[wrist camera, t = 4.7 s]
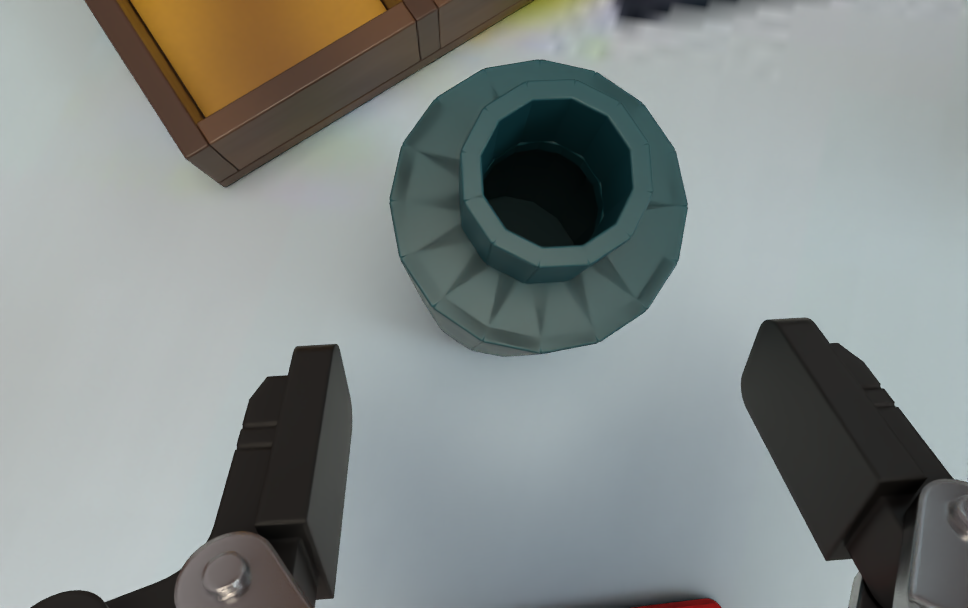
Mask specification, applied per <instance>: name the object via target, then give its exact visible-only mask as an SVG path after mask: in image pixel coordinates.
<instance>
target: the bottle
mask: <svg viewBox="0 0 968 608" xmlns="http://www.w3.org/2000/svg"><path fill="white" fill-rule="evenodd" d="M687 205H688V204H687V199H686V195H685V190H684V186H683V181H682V177H681V172H680V168H679V163H678V159H677V154H676V151H675V149H674V147H673V146H672V144H671V143H670V141H669V140H668V138H667V137H666V136H665V134H664V133H663V131H662V130H661V128H660V127H659V125H658V124H657V122H656V121H655V120H654V118H653V117H652V115H651V114H650V112H649V111H648V109H647V108H646V106H645V105H644V104H642V102H641V101H639V100H638V99H636V98H635V97H633V96H632V95H630V94H629V93H627V92H626V91H624V90H623V89H621V88H620V87H618V86H617V85H615V84H614V83H612V82H611V81H609V80H608V79H606V78H605V77H603V76H602V75H600V74H599V73H597V72H596V73H595V71H592V70H587V69H583V68H578V67H574V66H569V65H565V64H560V63H555V62H551V61H546V60H532V61H526V62H520V63H514V64H507V65H501V66H495V67H489V68H485V69H482V70H480V71H479V72H477V73H475V74H474V75H472V76H471V77H469V78H467V79H466V80H464V81H462V82H461V83H459V84H457V85H456V86H454V87H453V88H451V89H449V90H448V91H446V92H444V93H443V94H441V95H440V96H438V97H437V98H436V99H435V100H433V102H432V103H431V105H430V106H429V107H428V109H427V110H426V112H425V113H424V114H423V116H422V117H421V118H420V120H419V121H418V123H417V124H416V125H415V127H414V128H413V130H412V131H411V132H410V134H409V135H408V137H407V138H406V139H405V141H404V142H403V145H402V146H401V150H400V154H399V159H398V163H397V167H396V172H395V176H394V181H393V185H392V190H391V194H390V209H391V214H392V220H393V225H394V231H395V236H396V242H397V247H398V253H399V257H400V259H401V262H402V264H403V265H404V267H405V269H406V271H407V273H408V275H409V276H410V278H411V280H412V282H413V284H414V286H415V287H416V289H417V291H418V293H419V295H420V297H421V298H422V300H423V302H424V304H425V305H426V307H427V308H428V310H429V311H430V313H431V314H432V316H433V318H434V319H435V321H436V322H437V324H438V325H439V327H440V328H441V330H443V332H445V333H446V334H448V335H449V336H451V337H452V338H453V339H455V340H456V341H457V342H459V343H461V344H462V345H464V346H465V347H467V348H468V349H471V350H473V351H478V352H483V353H486V354H492V355H497V356H502V357H504V356H505V357H506V356H520V355H534V354H545V353H550V352H555V351H560V350H565V349H571V348H576V347H581V346H586V345H591V344H596V343H598V342H601V341H602V340H604V339H605V338H607V337H608V336H610V335H611V334H613V333H614V332H616V331H617V330H619V329H620V328H622V327H623V326H625V325H626V324H628V323H629V322H631V321H632V320H634V319H635V318H637V317H638V316H640V315H641V314H643V313H644V312H645V311H646V310H647V309H648V308H649V307H650V305H651V304H652V302H653V300H654V299H655V297H656V296H657V294H658V293H659V291H660V290H661V288H662V287H663V285H664V283H665V282H666V280H667V279H668V277H669V276H670V274H671V273H672V271H673V270H674V268H675V266H676V265H677V262H678V260H679V255H680V249H681V244H682V238H683V232H684V227H685V221H686V215H687V210H688V207H687Z"/></svg>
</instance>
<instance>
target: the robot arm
mask: <svg viewBox="0 0 968 608" xmlns="http://www.w3.org/2000/svg"><path fill="white" fill-rule="evenodd" d="M741 393H742V398H743V401H744V404H745V407H746V409H747V411H748V413H749V414H750V416H751V418H752V420H753V422H754V424H755V426H756V428H757V430H758V432H759V434H760V436H761V437H762V439H763V441H764V443H765V445H766V447H767V449H768V451H769V453H770V455H771V457H772V459H773V460H774V462H775V464H776V466H777V468H778V470H779V472H780V474H781V476H782V478H783V480H784V482H785V483H786V485H787V487H788V489H789V491H790V493H791V495H792V497H793V499H794V501H795V503H796V505H797V506H798V508H799V510H800V512H801V514H802V516H803V518H804V520H805V522H806V524H807V526H808V528H809V529H810V531H811V533H812V535H813V537H814V539H815V541H816V543H817V545H818V547H819V549H820V551H821V552H822V554H823V556H824V558H825V560H826V561H830V560H843V559H853V561H854V563H855V565H856V567H857V568H858V570H859V572H858V573H857V575H856V576H855V578H854V581H853V585H852V590H851V595H850V600H849V605H848V608H968V482H964V481H960V480H955V479H953V478H952V476H951V475H950V474H949V473H948V471H947V470H946V469H945V468H944V466H943V465H942V464H941V462H940V461H939V460H938V458H937V457H936V456H935V455H934V453H933V452H932V451H931V449H930V448H929V447H928V445H927V444H926V443H925V441H924V440H923V439H922V438H921V436H920V435H919V434H918V432H917V431H916V430H915V428H914V427H913V426H912V425H911V423H910V422H909V421H908V419H907V418H906V417H905V415H904V414H903V413H902V411H901V410H900V409H899V408H898V407H895V406H894V401H893V400H892V398H891V397H890V396H889V395H888V393H887V392H886V391H885V389H881V387H880V383H879V381H878V380H877V379H876V378H875V376H874V375H873V374H872V372H871V371H870V370H869V368H868V367H867V366H866V365H865V363H864V362H863V361H862V360H860V359H859V358H858V357H856V356H855V355H854V354H852V353H851V352H849V351H848V350H847V349H845V348H844V347H843V346H841V345H840V344H839V343H829V342H828V340H827V339H826V338H825V336H824V335H823V334H822V332H821V331H820V330H819V328H818V327H817V325H816V324H815V323H814V322H813V321H812V320H811V319H809V318H789V319H772V320H766V321H764V322H763V323H762V324H761V326H760V328H759V331H758V333H757V336H756V339H755V341H754V344H753V347H752V349H751V352H750V355H749V358H748V360H747V363H746V366H745V368H744V371H743V374H742V378H741ZM242 425H243V429H241V431H240V435H239V438H238V442H237V450H235V453H234V456H233V460H232V463H231V467H230V470H229V474H228V477H227V481H226V485H225V488H224V492H223V495H222V499H221V502H220V506H219V509H218V513H217V517H216V520H215V524H214V527H213V530H212V532H211V535H210V537H209V539H208V541H207V542H206V543H205V544H204V545H203V546H201V547H200V548H199V549H198V550H196V551H195V552H194V553H193V554H192V555H191V556H190V558H189V559H188V560H187V561H186V563H185V564H184V566H183V567H182V569H181V570H179V571H178V572H176V573H175V574H173V575H171V576H170V577H168V578H166V579H164V580H161V581H159V582H157V583H154V584H152V585H149V586H146V587H144V588H141V589H139V590H136V591H133V592H131V593H128V594H125V595H123V596H120V597H118V598H115V599H112V600H110V601H107V602H104V601H103V600H102V599H101V598H100V597H99V596H97V595H96V594H94V593H91V592H88V591H81V590H74V591H67V592H62V593H59V594H56V595H53V596H50V597H48V598H46V599H44V600H42V601H40V602H39V603H37V604H35V605H34V606H32V607H31V608H315V601H316V600H319V599H332V598H334V591H335V582H336V573H337V564H338V555H339V545H340V536H341V527H342V518H343V508H344V499H345V490H346V481H347V472H348V462H349V453H350V444H351V435H352V406H351V398H350V394H349V389H348V385H347V380H346V376H345V371H344V366H343V362H342V357H341V353H340V349H339V346H338V345H337V344H328V345H311V346H297V347H295V349H294V352H293V355H292V360H291V364H290V368H289V373H288V375H287V376H270V377H267V378H266V379H265V380H264V382H263V383H262V384H261V385H260V387H259V388H258V389H257V390H256V392H255V393H254V394H253V395H252V397H251V398H250V399H249V403H248V406H247V410H246V413H245V417H244V421H243V424H242Z"/></svg>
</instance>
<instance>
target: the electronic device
mask: <svg viewBox="0 0 968 608" xmlns="http://www.w3.org/2000/svg"><path fill="white" fill-rule="evenodd" d="M631 608H721V606H720V605H719V604H718V603H717V602H716V601H714V600H712V599H709V598H704V599H696V600H688V601H680V602H671V603H663V604H655V605H647V606H639V607H631Z"/></svg>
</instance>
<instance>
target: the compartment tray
mask: <svg viewBox="0 0 968 608" xmlns="http://www.w3.org/2000/svg"><path fill="white" fill-rule="evenodd" d="M84 1H85V2H86V4H87V5H88V7H89V8H90V10H91V12H92V13H93V15H94V16H95V18H96V19H97V21H98V23H99V24H100V26H101V27H102V29H103V30H104V32H105V34H106V35H107V37H108V38H109V40H110V41H111V43H112V44H113V46H114V48H115V49H116V51H117V52H118V54H119V55H120V57H121V59H122V60H123V62H124V63H125V65H126V66H127V68H128V69H129V71H130V73H131V74H132V76H133V77H134V79H135V80H136V82H137V84H138V85H139V87H140V88H141V90H142V91H143V93H144V94H145V96H146V98H147V99H148V101H149V102H150V104H151V105H152V107H153V109H154V110H155V112H156V113H157V115H158V116H159V118H160V120H161V121H162V123H163V124H164V126H165V127H166V129H167V130H168V132H169V134H170V135H171V137H172V138H173V140H174V141H175V143H176V145H177V146H178V148H179V149H180V151H181V152H182V154H183V155H184V157H185V158H186V159H187V160H188V161H190V162H191V163H192V164H194V165H195V166H196V167H198V168H199V169H200V170H202V171H203V172H204V173H206V174H207V175H208V176H210V177H211V178H212V179H214V180H215V181H216V182H218V183H219V184H220V185H222V186H223V187H227V186H228V185H230V184H232V183H233V182H235V181H237V180H238V179H240V178H242V177H243V176H245V175H246V174H248V173H250V172H251V171H253V170H255V169H256V168H258V167H260V166H261V165H263V164H265V163H266V162H268V161H270V160H271V159H273V158H275V157H276V156H278V155H279V154H281V153H283V152H284V151H286V150H288V149H289V148H291V147H293V146H294V145H296V144H298V143H299V142H301V141H303V140H304V139H306V138H308V137H309V136H311V135H312V134H314V133H316V132H317V131H319V130H321V129H322V128H324V127H326V126H327V125H329V124H331V123H332V122H334V121H336V120H337V119H339V118H340V117H342V116H344V115H345V114H347V113H349V112H350V111H352V110H354V109H355V108H357V107H359V106H360V105H362V104H364V103H365V102H367V101H369V100H370V99H372V98H373V97H375V96H377V95H378V94H380V93H382V92H383V91H385V90H387V89H388V88H390V87H392V86H393V85H395V84H397V83H398V82H400V81H401V80H403V79H405V78H406V77H408V76H410V75H411V74H413V73H415V72H416V71H418V70H420V69H421V68H423V67H425V66H426V65H428V64H430V63H431V62H433V61H434V60H436V59H438V58H439V57H441V56H443V55H444V54H446V53H448V52H449V51H451V50H453V49H454V48H456V47H458V46H459V45H461V44H462V43H464V42H466V41H467V40H469V39H471V38H472V37H474V36H476V35H477V34H479V33H481V32H482V31H484V30H486V29H487V28H489V27H491V26H492V25H494V24H495V23H497V22H499V21H500V20H502V19H504V18H505V17H507V16H509V15H510V14H512V13H514V12H515V11H517V10H519V9H520V8H522V7H523V6H525V5H527V4H528V3H530V2H532V1H533V0H84Z"/></svg>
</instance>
